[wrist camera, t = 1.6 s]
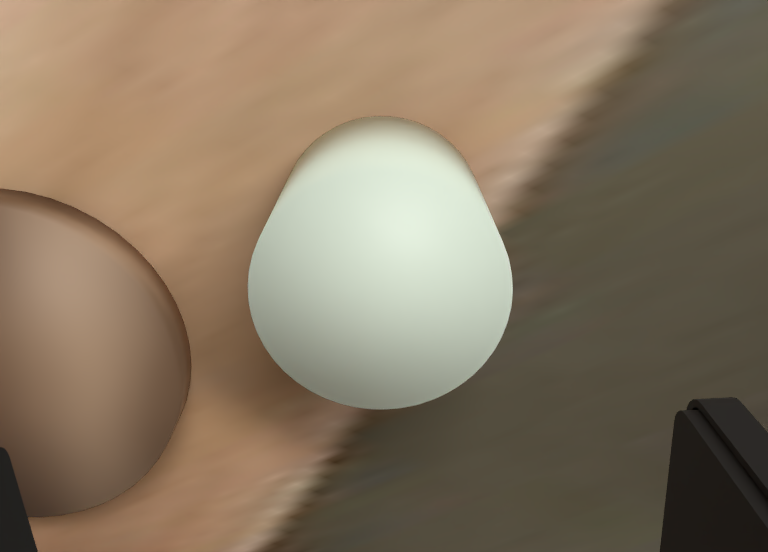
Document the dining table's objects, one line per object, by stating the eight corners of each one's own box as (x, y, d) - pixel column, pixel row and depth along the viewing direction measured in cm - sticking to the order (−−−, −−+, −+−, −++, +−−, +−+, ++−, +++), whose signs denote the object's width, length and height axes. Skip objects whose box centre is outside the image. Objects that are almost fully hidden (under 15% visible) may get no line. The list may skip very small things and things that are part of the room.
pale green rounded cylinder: (272, 121, 21) (231, 174, 16) (480, 110, 21) (514, 159, 15) (299, 365, 24) (273, 482, 19) (481, 357, 24) (509, 471, 18)
